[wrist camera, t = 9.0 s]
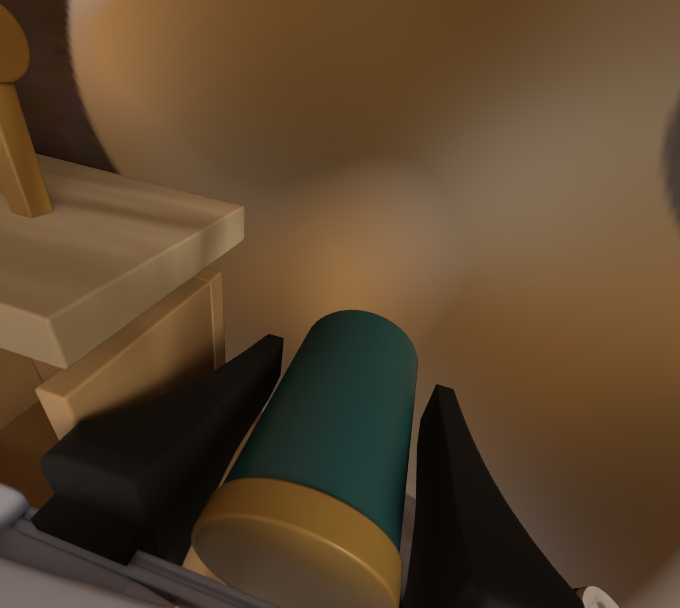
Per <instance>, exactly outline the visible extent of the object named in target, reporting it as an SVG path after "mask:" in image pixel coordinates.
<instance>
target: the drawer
mask: <svg viewBox="0 0 680 608" xmlns="http://www.w3.org/2000/svg"><path fill="white" fill-rule="evenodd" d="M29 64H30V49H29V44H28V41H27V38H26V36H25V33H24V32H23V30H22V28H21V26H20V25H19V23H18V22H17V20H16V19H15V18H14V16H13V15H12V14H11V13H10V12H9V11H8V10H7V9H6V8H5V7H4V6H2V5H1V4H0V483H3V484H5V485H8V486H10V487H13V488H15V489H17V490H19V491H20V492H22V493H23V494H24V495H25V496H26V497H27V498H28V500H29V502H30V506H32V507H35V508H37V509H41V507H42V506H43V505H44V504H45V503H46V502H47V501H48V500H49V499H50V498H51V497H52V496H53V495H54V494H55V493H54V492H53V490H52V488H51V486H50V485H49V483H48V481H47V479H46V478H45V476H44V474H43V472H42V470H41V467H40V460H41V457H42V456H43V455H44V454H45V453H46V452H48V451H49V450H50V449H51V448H52V447H53V446H54V445H55V444H56V443H57V442H58V441H59V440H61V439H62V438H63V437H64V436H65V435H66V434H67V433H68V432H69V431H70V430H72V429H73V428H74V427H75V426H76V425H78V424H79V423H80V422H81V421H85V420H89V419H93V418H97V417H100V416H104V415H108V414H112V413H115V412H118V411H122V410H125V409H128V408H131V407H134V406H137V405H140V404H143V403H146V402H148V401H151V400H154V399H156V398H159V397H161V396H164V395H166V394H168V393H171V392H173V391H175V390H178V389H180V388H182V387H184V386H186V385H188V384H190V383H192V382H194V381H196V380H198V379H200V378H202V377H204V376H206V375H207V374H209V373H211V372H212V371H214V370H216V369H218V368H219V367H221V366H223V365H224V364H225V340H224V311H223V282H222V272H221V271H217V270H213V269H210V268H206V267H207V266H208V265H210V264H211V263H212V262H214V261H215V260H217V259H218V258H220V257H221V256H222V255H224V254H225V253H226V252H228V251H229V250H230V249H232V248H233V247H234V246H236V245H237V244H238V243H240V242H241V241H243V240H244V220H245V219H244V218H245V217H244V216H245V213H244V212H245V208H244V206H241V205H237V204H233V203H229V202H225V201H221V200H217V199H213V198H209V197H205V196H202V195H198V194H194V193H190V192H186V191H182V190H178V189H174V188H170V187H166V186H162V185H158V184H154V183H150V182H146V181H142V180H139V179H135V178H131V177H127V176H123V175H119V174H115V173H111V172H107V171H103V170H99V169H95V168H91V167H87V166H83V165H79V164H75V163H71V162H68V161H64V160H60V159H56V158H52V157H48V156H44V155H40V154H36V153H35V151H34V147H33V144H32V141H31V138H30V134H29V131H28V128H27V125H26V121H25V118H24V115H23V112H22V109H21V105H20V102H19V99H18V96H17V92H16V89H15V86H14V84H13V83H11V82H14V81H16V80H18V79H20V78H21V77H23V76H24V75H25V73H26V72H27V70H28V68H29Z"/></svg>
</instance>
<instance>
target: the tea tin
mask: <svg viewBox="0 0 680 608" xmlns="http://www.w3.org/2000/svg"><path fill="white" fill-rule="evenodd" d="M417 369H418V358H417V354H416V351H415V348H414V346H413V344H412V342H411V340H410V339H409V338H408V336H407V335H406V334H405V333H404V332H403V331H402V330H401V329H400V328H399V327H398V326H397V325H395V324H394V323H392V322H391V321H389V320H388V319H385V318H384V317H382V316H379V315H376V314H374V313H370V312H365V311H360V310H344V311H338V312H335V313H331V314H329V315H326V316H325V317H323V318H321V319H320V320H318V321H317V322H316V323H315V324H314V325H313V326H312V327H311V329H310V331H309V332H308V334H307V336H306V337H305V339H304V341H303V343H302V345H301V346H300V348H299V350H298V352H297V353H296V355H295V357H294V359H293V360H292V362H291V364H290V366H289V367H288V369H287V371H286V373H285V374H284V377H283V378H282V380H281V382H280V383H279V385H278V387H277V389H276V390H275V392H274V394H273V396H272V397H271V399H270V401H269V403H268V405H267V406H266V408H265V410H264V412H263V413H262V415H261V417H260V419H259V420H258V422H257V424H256V426H255V427H254V429H253V431H252V433H251V434H250V436H249V438H248V440H247V442H246V443H245V445H244V447H243V449H242V450H241V452H240V454H239V456H238V457H237V459H236V461H235V463H234V464H233V466H232V468H231V470H230V472H229V473H228V475H227V477H226V479H225V480H224V482H223V484H222V485H221V486H220V487H219V488H218V489H216V490H215V491H214V492H213V494H212V495H211V497H210V498H209V500H208V502H207V504H206V505H205V507H204V509H203V511H202V512H201V514H200V516H199V518H198V519H197V521H196V523H195V524H194V526H193V529H192V533H191V542H192V546H193V548H194V550H195V552H196V554H197V556H198V557H199V559H200V560H201V561H202V562H203V564H204V565H205V566H206V567H207V568H208V569H209V570H210V571H211V572H212V573H213V574H214V575H215V576H216V577H217V578H219V579H220V580H221V581H222V582H223V583H225V584H226V585H228V586H230V587H233V588H235V589H238V590H240V591H243V592H245V593H248V594H250V595H253V596H255V597H258V598H260V599H263V600H265V601H268V602H270V603H273V604H275V605H277V606H280V607H282V608H399V602H400V591H401V580H402V561H401V558H400V555H399V553H400V543H401V532H402V522H403V512H404V502H405V491H406V481H407V471H408V461H409V449H410V440H411V430H412V420H413V410H414V399H415V389H416V379H417Z"/></svg>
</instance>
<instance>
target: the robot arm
mask: <svg viewBox="0 0 680 608" xmlns="http://www.w3.org/2000/svg"><path fill="white" fill-rule="evenodd" d="M283 339H284V338H281V337H278V336H274V335H271V334H268V335H267V336H265V337H264V338H262V339H261V340H260V341H258V342H257V343H255V344H254V345H253V346H251V347H250V348H248V349H247V350H246V351H244V352H243V353H241V354H240V355H238V356H237V357H235V358H234V359H232V360H231V361H229V362H228V363H226V364H224V365H223V366H221V367H219V368H218V369H216V370H214V371H212V372H211V373H209V374H207V375H206V376H204V377H202V378H200V379H198V380H196V381H194V382H192V383H190V384H188V385H186V386H184V387H182V388H180V389H178V390H175V391H173V392H171V393H168V394H166V395H164V396H161V397H159V398H156V399H154V400H151V401H148V402H146V403H143V404H140V405H137V406H134V407H131V408H128V409H125V410H122V411H118V412H115V413H112V414H108V415H104V416H100V417H97V418H93V419H89V420H85V421H81V422H80V423H79V424H78V425H76V426H75V427H74V428H73V429H72V430H70V431H69V432H68V433H67V434H66V435H65V436H64V437H63V438H62V439H61V440H59V441H58V442H57V443H56V444H55V445H54V446H53V447H52V448H51V449H50V450H49V451H48V452H46V453H45V454H44V455H43V456H42V457H41V460H40V467H41V470H42V472H43V474H44V476H45V478H46V479H47V481H48V483H49V485H50V486H51V488H52V490H53V492H54V493H55V494H54V495H53V496H52V497H51V498H50V499H49V500H48V501H47V502H46V503H45V504H44V505H43V506H42V507H41V509H37V508H35V507H32V506H30V502H29V500H28V498H27V497H26V496H25V495H24V494H23V493H22V492H20V491H19V490H17V489H15V488H13V487H10V486H8V485H5V484H3V483H0V608H175V606H177V607H179V608H282V607H280V606H277V605H275V604H273V603H270V602H268V601H265V600H263V599H260V598H258V597H255V596H253V595H250V594H248V593H245V592H243V591H240V590H238V589H235V588H233V587H230V586H228V585H225V584H223V583H220V582H218V581H216V580H213V579H211V578H208V577H206V576H203V575H201V574H198V573H196V572H193V571H191V570H188V569H186V568H183V567H182V565H183V563H184V561H185V558H186V556H187V554H188V552H189V549H190V547H191V545H192V542H191V533H192V529H193V526H194V524H195V523H196V521H197V519H198V518H199V516H200V514H201V512H202V511H203V509H204V507H205V505H206V504H207V502H208V500H209V498H210V497H211V495H212V494H213V492H214V491H215V490H216V489H218V486H219V484H220V482H221V480H222V478H223V476H224V474H225V472H226V470H227V468H228V466H229V464H230V462H231V460H232V458H233V456H234V454H235V453H236V451H237V449H238V447H239V446H240V444H241V442H242V441H243V439H244V438H245V436H246V434H247V433H248V431H249V430H250V428H251V426H252V425H253V423H254V422H255V420H256V419H257V417H258V415H259V414H260V412H261V411H262V409H263V407H264V406H265V404H266V402H267V401H268V399H269V397H270V396H271V394H272V392H273V389H274V387H275V386H276V383H277V381H278V379H279V377H280V374H281V363H282V351H283ZM403 608H585V606H584V603H583V601H582V600H581V599H580V598H579V596H578V595H577V594H576V593H575V592H574V591H573V589H572V588H571V587H570V586H569V585H568V583H567V582H566V581H565V580H564V579H563V578H562V577H561V575H560V574H559V573H558V572H557V571H556V569H555V568H554V567H553V566H552V565H551V564H550V562H549V561H548V560H547V558H546V557H545V556H544V554H543V553H542V552H541V550H540V549H539V548H538V547H537V545H536V544H535V543H534V542H533V540H532V539H531V537H530V536H529V534H528V533H527V532H526V530H525V529H524V527H523V526H522V524H521V523H520V522H519V520H518V519H517V517H516V516H515V514H514V513H513V512H512V510H511V508H510V507H509V505H508V504H507V502H506V501H505V499H504V497H503V496H502V494H501V492H500V491H499V489H498V487H497V486H496V484H495V482H494V480H493V479H492V477H491V475H490V473H489V471H488V469H487V467H486V466H485V464H484V462H483V460H482V458H481V456H480V454H479V451H478V449H477V447H476V445H475V443H474V440H473V438H472V436H471V434H470V432H469V429H468V427H467V424H466V422H465V419H464V417H463V414H462V412H461V409H460V406H459V403H458V400H457V398H456V395H455V392H454V390H453V389H451V388H448V387H444V386H441V385H438V384H436V386H435V389H434V391H433V393H432V395H431V398H430V400H429V402H428V404H427V406H426V409H425V411H424V413H423V415H422V418H421V421H420V428H419V434H418V443H417V472H416V510H415V522H414V531H413V539H412V548H411V556H410V563H409V571H408V578H407V585H406V592H405V599H404V607H403Z"/></svg>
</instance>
